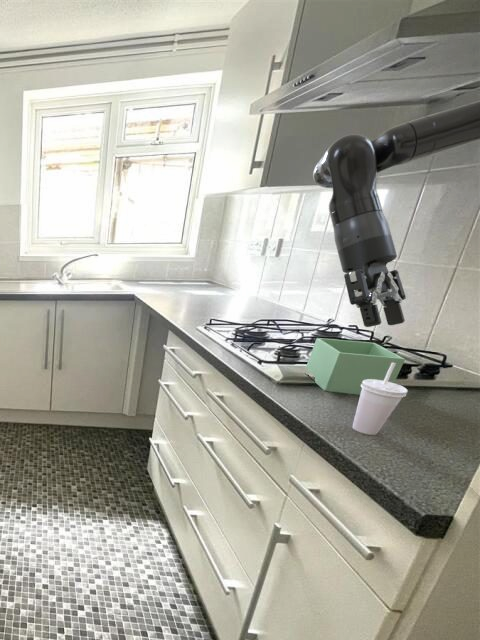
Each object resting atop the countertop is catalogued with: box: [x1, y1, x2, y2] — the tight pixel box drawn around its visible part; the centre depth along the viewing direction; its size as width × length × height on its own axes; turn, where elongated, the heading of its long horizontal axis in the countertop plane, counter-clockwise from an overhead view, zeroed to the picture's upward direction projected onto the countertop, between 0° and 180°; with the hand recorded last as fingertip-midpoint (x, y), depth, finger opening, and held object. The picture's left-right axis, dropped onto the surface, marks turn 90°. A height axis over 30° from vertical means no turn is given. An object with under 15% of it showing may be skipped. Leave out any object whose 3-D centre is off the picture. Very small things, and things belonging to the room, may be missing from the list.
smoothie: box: [351, 363, 409, 436], centre depth 79 cm, size 6×6×14 cm
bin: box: [305, 337, 406, 396], centre depth 101 cm, size 12×12×10 cm
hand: (385, 325), depth 77 cm, fingers open, 8 cm apart
